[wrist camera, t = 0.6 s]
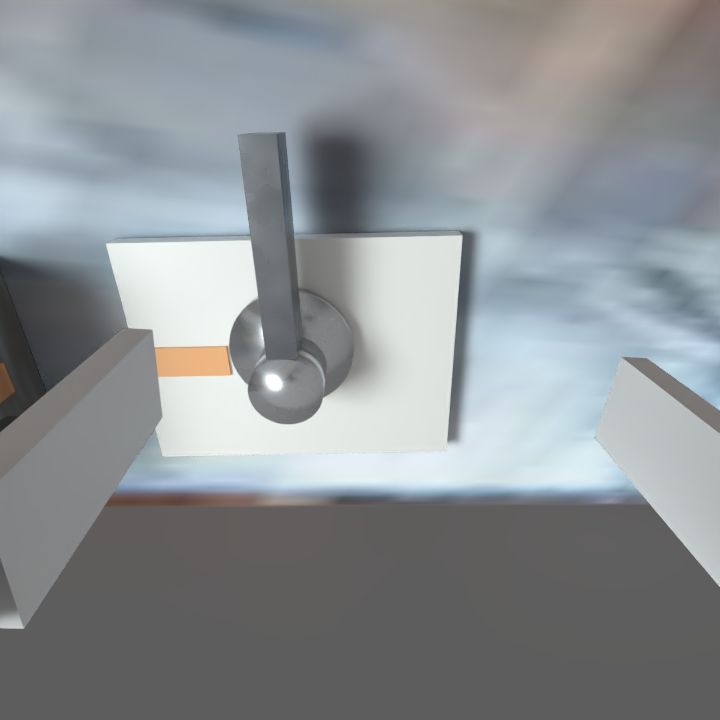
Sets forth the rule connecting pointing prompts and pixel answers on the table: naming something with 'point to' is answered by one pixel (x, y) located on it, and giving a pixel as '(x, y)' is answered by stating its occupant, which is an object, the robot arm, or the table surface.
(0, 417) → the board
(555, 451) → the table surface
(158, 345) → the base plate
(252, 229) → the grey metal lever
